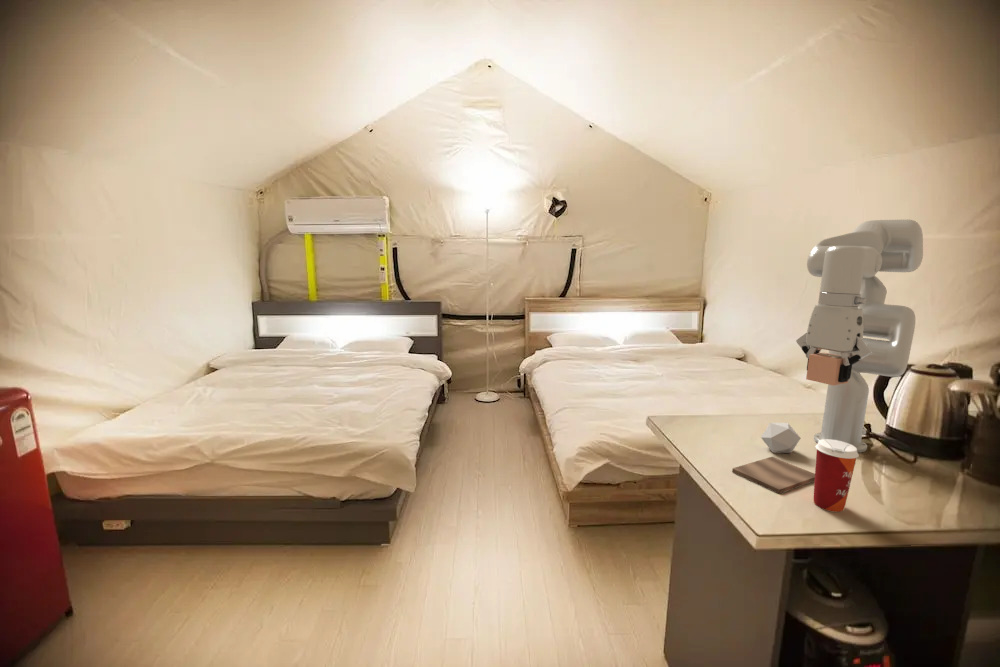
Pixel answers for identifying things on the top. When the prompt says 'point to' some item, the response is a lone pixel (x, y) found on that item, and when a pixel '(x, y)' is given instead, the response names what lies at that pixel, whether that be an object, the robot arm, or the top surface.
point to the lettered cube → (824, 368)
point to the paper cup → (833, 473)
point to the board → (775, 474)
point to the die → (780, 437)
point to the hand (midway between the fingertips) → (827, 377)
